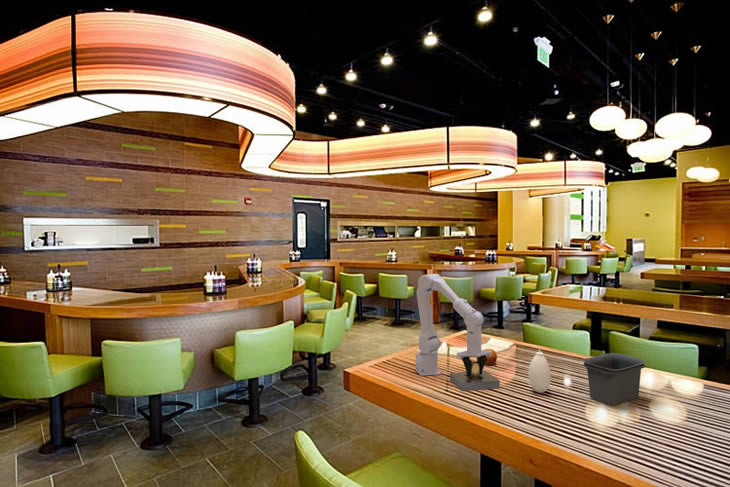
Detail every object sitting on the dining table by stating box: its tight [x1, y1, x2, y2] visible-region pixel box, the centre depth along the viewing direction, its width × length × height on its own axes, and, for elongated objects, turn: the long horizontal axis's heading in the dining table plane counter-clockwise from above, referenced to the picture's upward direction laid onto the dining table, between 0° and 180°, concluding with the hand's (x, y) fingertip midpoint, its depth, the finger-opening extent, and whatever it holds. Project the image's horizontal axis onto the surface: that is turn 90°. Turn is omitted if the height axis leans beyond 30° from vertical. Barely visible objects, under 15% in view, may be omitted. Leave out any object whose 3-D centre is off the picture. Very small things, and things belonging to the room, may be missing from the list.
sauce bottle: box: [528, 345, 552, 394], centre depth 152 cm, size 8×8×18 cm
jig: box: [449, 370, 501, 392], centre depth 160 cm, size 16×12×3 cm
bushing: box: [469, 360, 480, 380], centre depth 160 cm, size 4×4×7 cm
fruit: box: [482, 348, 498, 366], centre depth 187 cm, size 8×8×8 cm
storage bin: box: [582, 352, 647, 407], centre depth 146 cm, size 21×16×14 cm
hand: (474, 374), depth 160 cm, fingers closed on bushing, 4 cm apart
